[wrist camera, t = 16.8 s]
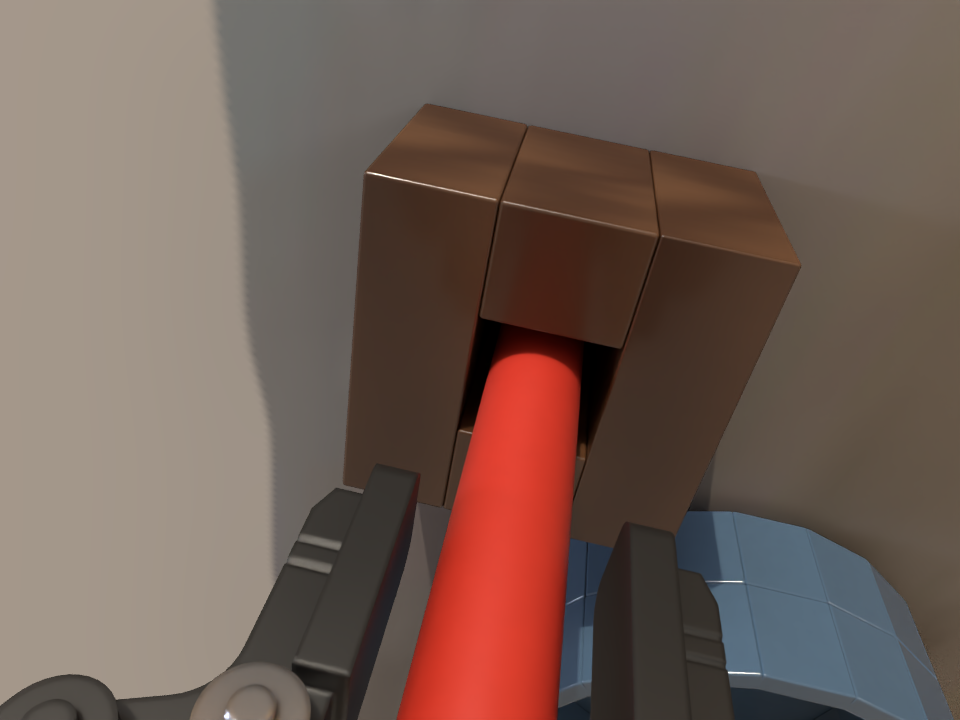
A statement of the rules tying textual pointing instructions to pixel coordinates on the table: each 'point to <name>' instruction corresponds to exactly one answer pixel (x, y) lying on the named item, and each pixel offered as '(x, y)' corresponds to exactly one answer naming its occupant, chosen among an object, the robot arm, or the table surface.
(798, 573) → the bowl
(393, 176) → the holder
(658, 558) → the robot arm
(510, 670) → the stick
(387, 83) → the table surface
